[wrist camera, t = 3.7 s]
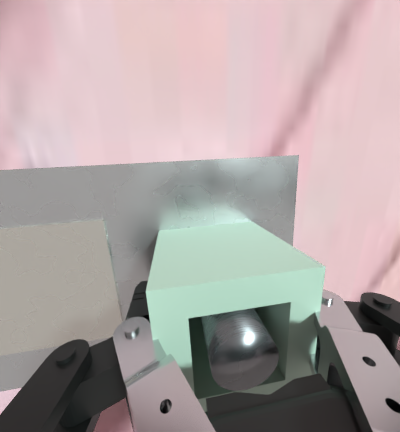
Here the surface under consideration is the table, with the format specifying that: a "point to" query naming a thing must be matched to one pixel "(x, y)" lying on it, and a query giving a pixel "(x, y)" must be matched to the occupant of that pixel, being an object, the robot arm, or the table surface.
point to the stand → (126, 253)
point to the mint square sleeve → (233, 297)
